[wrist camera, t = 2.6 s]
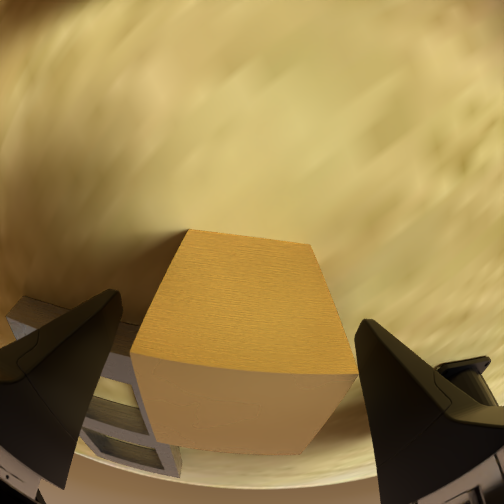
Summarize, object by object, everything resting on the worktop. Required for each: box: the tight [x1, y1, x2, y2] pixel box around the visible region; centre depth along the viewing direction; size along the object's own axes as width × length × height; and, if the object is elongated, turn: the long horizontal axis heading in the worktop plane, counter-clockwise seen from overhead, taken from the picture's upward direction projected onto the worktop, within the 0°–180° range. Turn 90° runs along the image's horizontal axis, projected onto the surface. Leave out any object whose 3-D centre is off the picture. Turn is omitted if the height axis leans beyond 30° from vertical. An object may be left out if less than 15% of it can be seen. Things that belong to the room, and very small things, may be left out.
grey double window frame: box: [6, 296, 182, 478], centre depth 16 cm, size 9×20×2 cm, turn 172°
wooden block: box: [130, 229, 359, 455], centre depth 8 cm, size 4×4×6 cm
